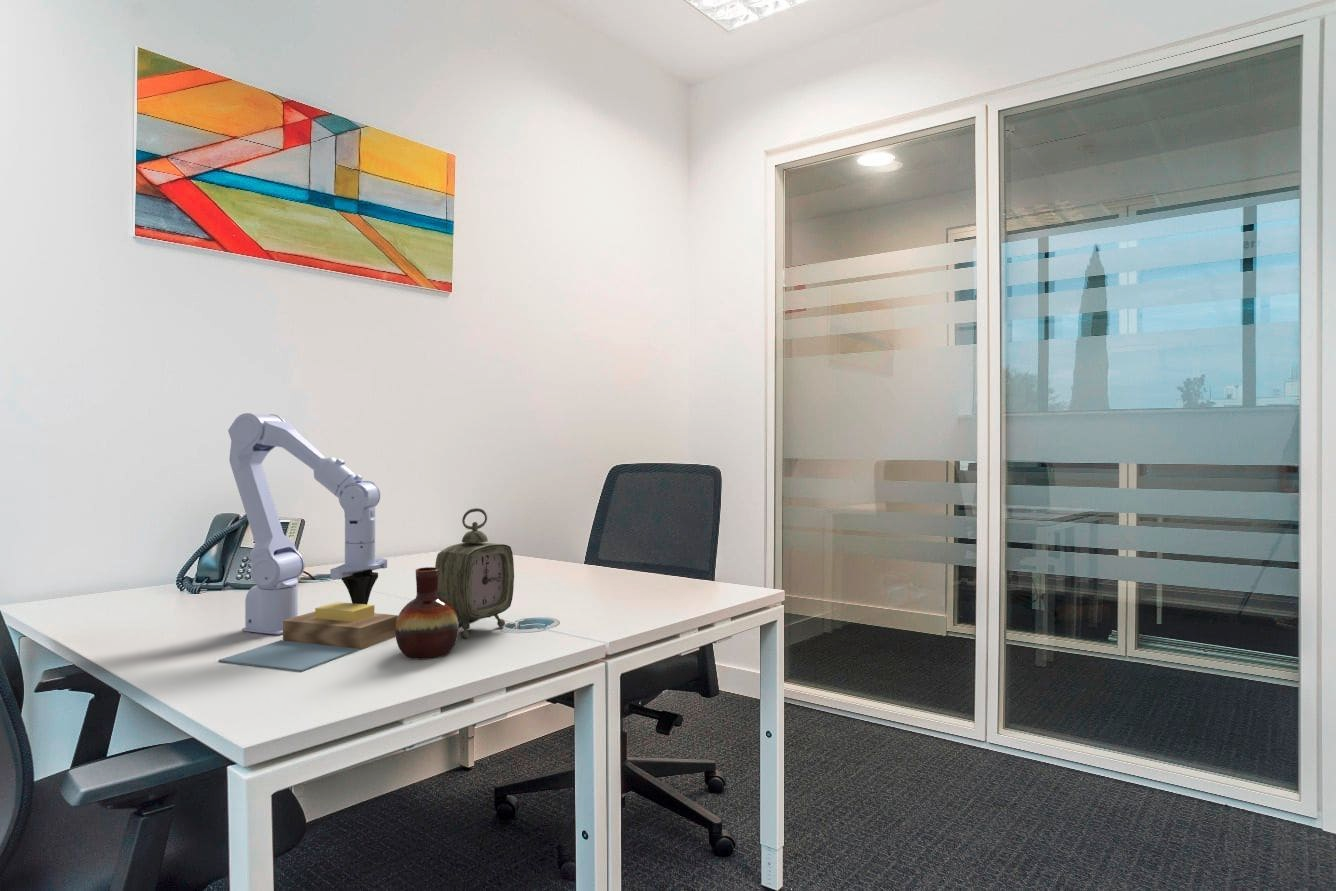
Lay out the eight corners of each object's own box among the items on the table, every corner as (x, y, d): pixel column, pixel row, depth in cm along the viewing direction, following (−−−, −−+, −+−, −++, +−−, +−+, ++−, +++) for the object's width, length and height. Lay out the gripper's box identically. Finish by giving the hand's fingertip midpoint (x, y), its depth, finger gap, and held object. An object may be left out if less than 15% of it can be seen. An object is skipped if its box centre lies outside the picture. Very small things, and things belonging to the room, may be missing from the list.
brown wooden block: (282, 641, 152) (282, 620, 152) (324, 628, 162) (324, 608, 162) (360, 649, 146) (360, 628, 146) (398, 635, 156) (398, 615, 156)
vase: (390, 663, 137) (390, 575, 137) (399, 646, 148) (399, 564, 148) (456, 660, 140) (456, 573, 139) (460, 644, 150) (460, 563, 150)
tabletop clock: (464, 642, 152) (464, 512, 152) (430, 636, 156) (430, 510, 156) (513, 626, 164) (514, 506, 164) (481, 621, 169) (481, 504, 169)
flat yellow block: (315, 618, 153) (315, 608, 153) (337, 611, 159) (337, 601, 159) (353, 621, 151) (353, 611, 151) (374, 615, 156) (374, 605, 156)
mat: (218, 661, 138) (218, 659, 138) (280, 641, 151) (280, 640, 151) (301, 671, 132) (301, 669, 132) (358, 650, 146) (358, 648, 146)
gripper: (351, 547, 151) (351, 618, 151) (399, 538, 164) (399, 603, 165) (321, 545, 153) (321, 615, 153) (371, 536, 167) (371, 601, 167)
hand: (359, 609), depth 159 cm, fingers closed
